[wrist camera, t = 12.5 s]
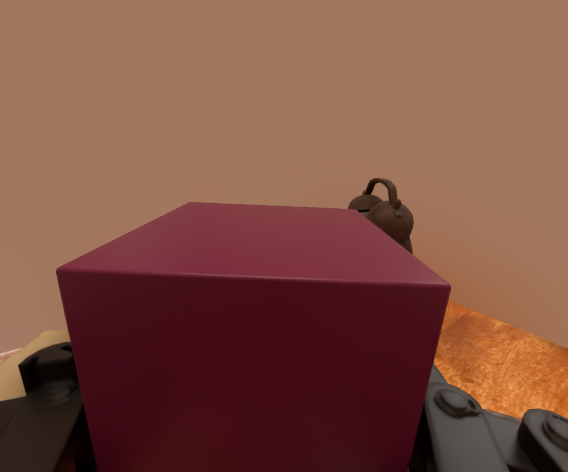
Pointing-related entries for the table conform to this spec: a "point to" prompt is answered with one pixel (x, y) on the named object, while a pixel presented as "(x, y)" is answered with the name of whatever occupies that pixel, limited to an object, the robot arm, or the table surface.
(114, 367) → the mulberry block
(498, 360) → the table surface
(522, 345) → the table surface
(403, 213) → the alarm clock
